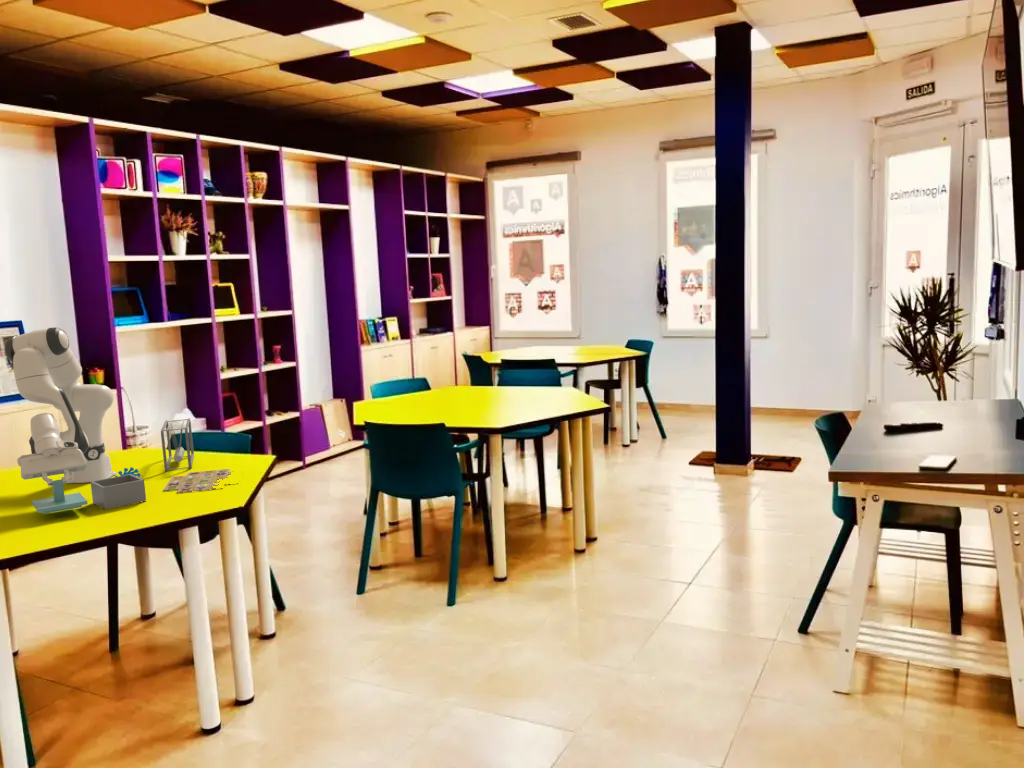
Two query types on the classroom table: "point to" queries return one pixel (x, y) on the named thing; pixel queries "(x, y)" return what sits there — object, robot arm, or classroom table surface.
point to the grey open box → (118, 491)
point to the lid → (59, 500)
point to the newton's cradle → (179, 451)
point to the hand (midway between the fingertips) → (57, 483)
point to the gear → (129, 472)
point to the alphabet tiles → (196, 481)
